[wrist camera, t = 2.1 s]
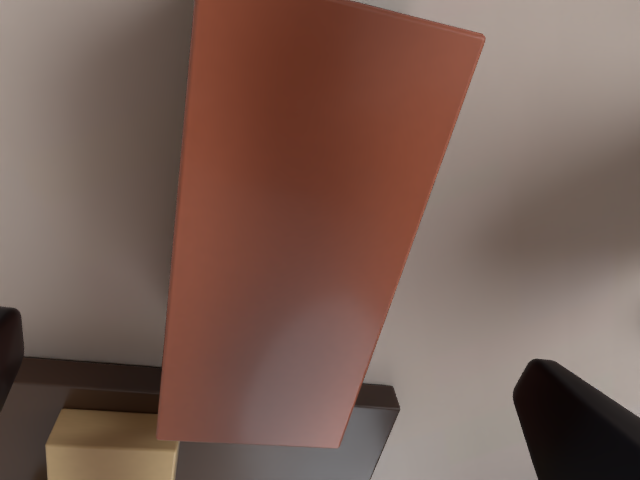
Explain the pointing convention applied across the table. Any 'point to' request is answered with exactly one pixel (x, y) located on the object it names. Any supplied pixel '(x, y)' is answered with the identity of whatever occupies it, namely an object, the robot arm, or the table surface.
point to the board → (193, 457)
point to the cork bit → (108, 447)
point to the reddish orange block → (298, 208)
